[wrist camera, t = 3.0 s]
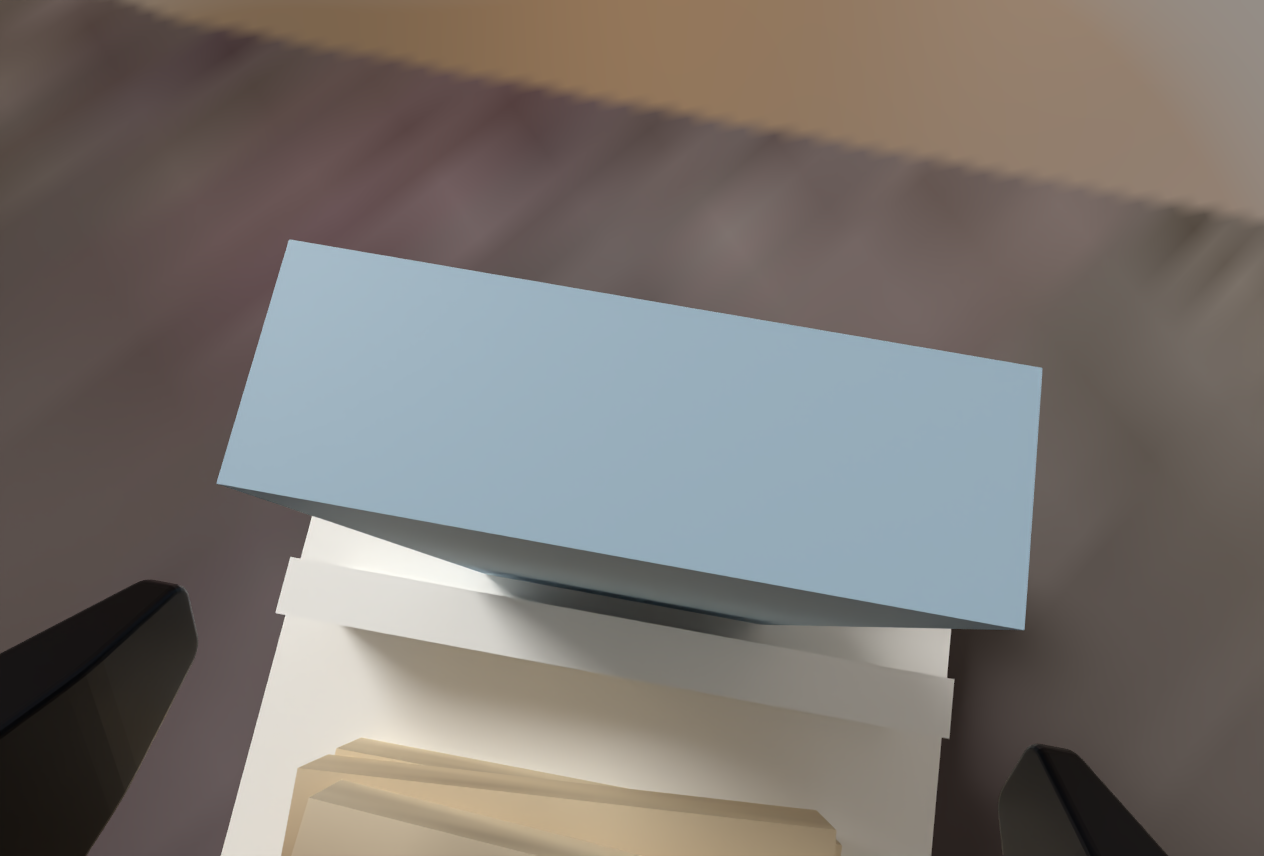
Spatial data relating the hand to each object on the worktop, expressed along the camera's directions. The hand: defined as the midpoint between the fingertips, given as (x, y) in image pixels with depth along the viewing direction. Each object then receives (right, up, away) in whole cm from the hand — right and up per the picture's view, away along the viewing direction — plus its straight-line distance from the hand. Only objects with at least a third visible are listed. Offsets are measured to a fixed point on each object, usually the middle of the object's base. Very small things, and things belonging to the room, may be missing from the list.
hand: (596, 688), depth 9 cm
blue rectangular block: (0, 0, +9) cm, 9 cm away
